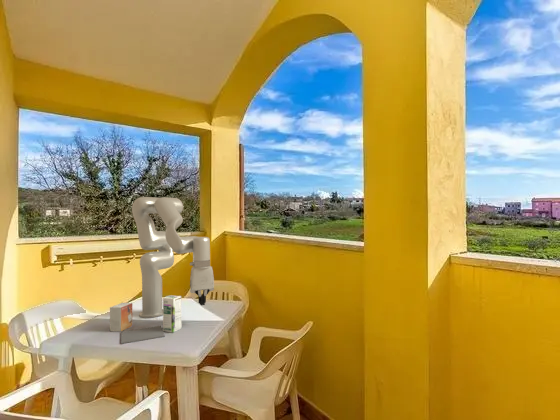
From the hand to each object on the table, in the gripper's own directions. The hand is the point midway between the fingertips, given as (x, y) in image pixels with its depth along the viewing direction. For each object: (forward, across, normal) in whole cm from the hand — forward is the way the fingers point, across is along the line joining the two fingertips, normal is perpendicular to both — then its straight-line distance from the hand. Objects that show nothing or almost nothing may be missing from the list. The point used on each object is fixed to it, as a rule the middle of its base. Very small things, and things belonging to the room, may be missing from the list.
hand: (202, 304), depth 145 cm
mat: (+9, -25, 0) cm, 27 cm away
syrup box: (+9, -13, 0) cm, 16 cm away
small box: (+9, -33, +13) cm, 37 cm away
